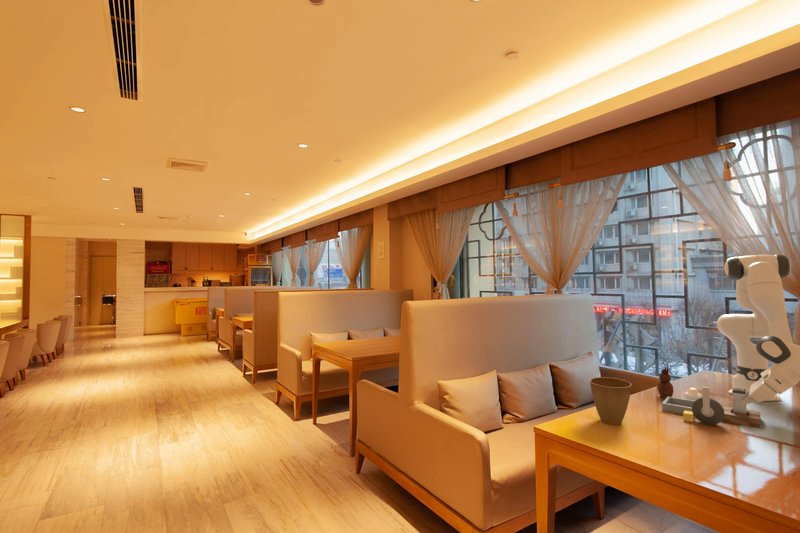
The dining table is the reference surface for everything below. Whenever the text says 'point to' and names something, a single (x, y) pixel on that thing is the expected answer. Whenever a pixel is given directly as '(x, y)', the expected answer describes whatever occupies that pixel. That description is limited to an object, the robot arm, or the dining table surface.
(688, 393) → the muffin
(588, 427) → the dining table surface
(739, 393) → the pin
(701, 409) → the grey disc with lever
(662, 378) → the wooden figurine
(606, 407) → the plant pot
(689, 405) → the tray
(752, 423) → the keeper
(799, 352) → the robot arm
